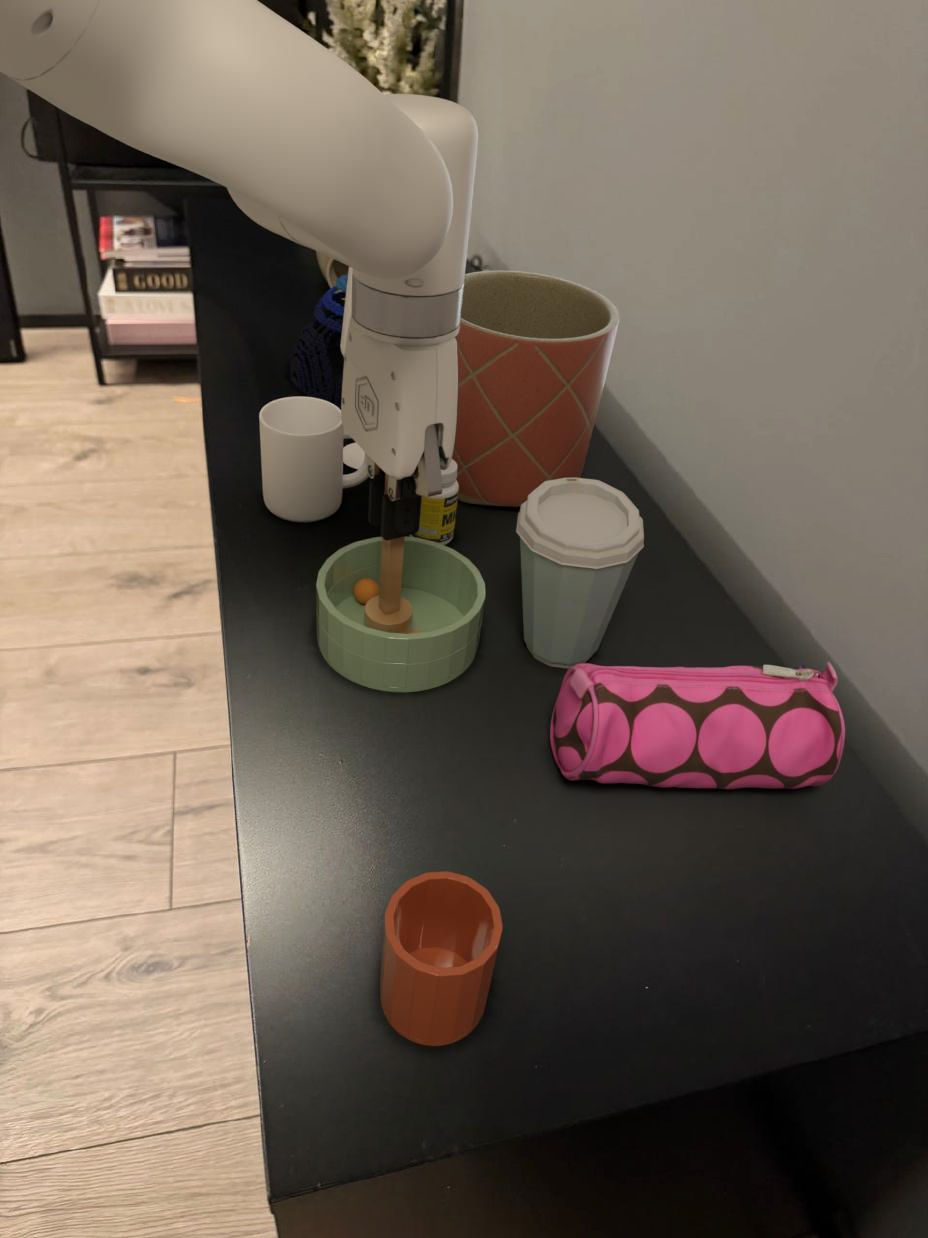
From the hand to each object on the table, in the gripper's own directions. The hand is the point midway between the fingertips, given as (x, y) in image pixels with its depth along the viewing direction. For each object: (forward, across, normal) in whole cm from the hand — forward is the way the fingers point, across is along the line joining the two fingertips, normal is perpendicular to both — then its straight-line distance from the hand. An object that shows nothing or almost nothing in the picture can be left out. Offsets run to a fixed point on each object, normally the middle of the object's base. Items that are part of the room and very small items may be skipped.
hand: (393, 526), depth 75 cm
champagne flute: (+12, -30, +13) cm, 35 cm away
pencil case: (+12, +23, +15) cm, 30 cm away
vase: (+12, -78, +36) cm, 87 cm away
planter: (+12, -21, +26) cm, 35 cm away
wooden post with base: (+11, 0, 0) cm, 11 cm away
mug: (+12, -23, +4) cm, 26 cm away
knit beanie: (+12, -49, +22) cm, 55 cm away
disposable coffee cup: (+12, +7, +14) cm, 20 cm away
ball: (+10, -5, 0) cm, 12 cm away
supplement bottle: (+12, -13, +12) cm, 22 cm away
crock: (+12, +31, -12) cm, 35 cm away
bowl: (+12, 0, +1) cm, 12 cm away
